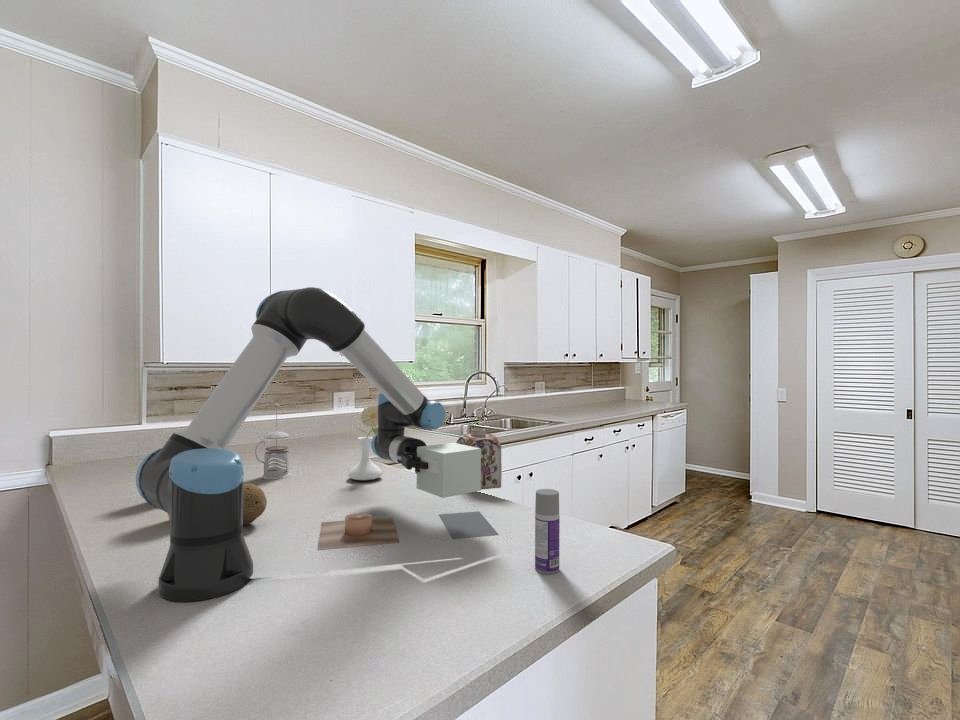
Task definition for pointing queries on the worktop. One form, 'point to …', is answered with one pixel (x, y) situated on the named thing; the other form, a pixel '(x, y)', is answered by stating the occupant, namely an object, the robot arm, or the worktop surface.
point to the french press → (275, 456)
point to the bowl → (358, 524)
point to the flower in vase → (366, 448)
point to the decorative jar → (486, 456)
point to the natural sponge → (252, 503)
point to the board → (336, 537)
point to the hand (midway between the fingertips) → (458, 465)
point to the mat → (467, 525)
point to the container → (547, 531)
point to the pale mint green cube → (451, 469)
